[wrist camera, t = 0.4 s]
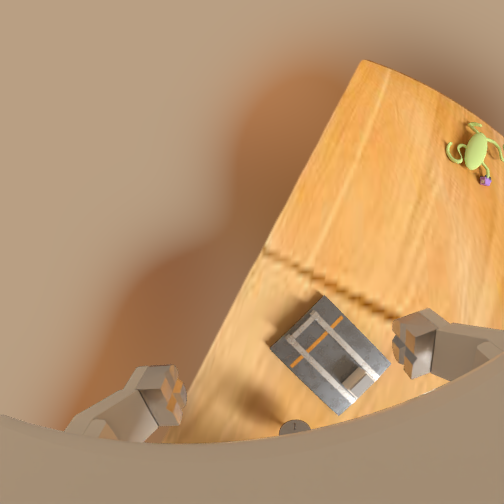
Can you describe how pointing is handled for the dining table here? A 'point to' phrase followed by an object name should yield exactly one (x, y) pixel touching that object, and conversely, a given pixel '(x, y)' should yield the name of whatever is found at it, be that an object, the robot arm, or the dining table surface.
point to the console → (328, 353)
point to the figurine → (475, 152)
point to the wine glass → (293, 427)
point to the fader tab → (358, 382)
